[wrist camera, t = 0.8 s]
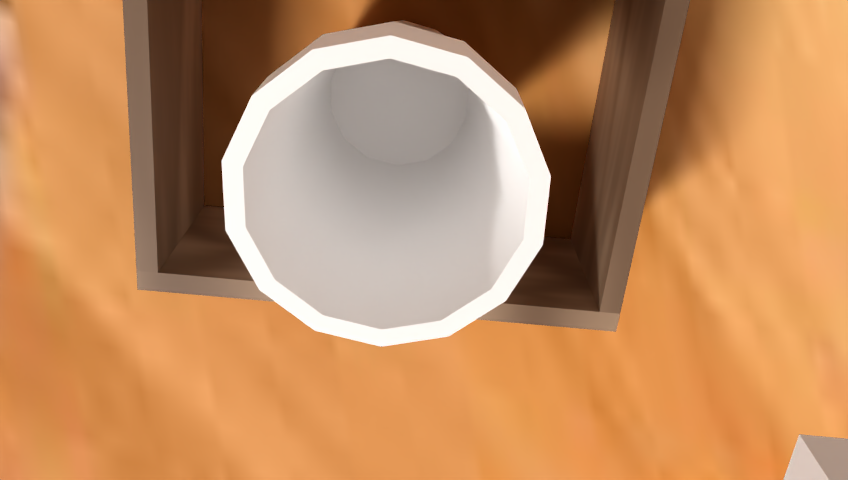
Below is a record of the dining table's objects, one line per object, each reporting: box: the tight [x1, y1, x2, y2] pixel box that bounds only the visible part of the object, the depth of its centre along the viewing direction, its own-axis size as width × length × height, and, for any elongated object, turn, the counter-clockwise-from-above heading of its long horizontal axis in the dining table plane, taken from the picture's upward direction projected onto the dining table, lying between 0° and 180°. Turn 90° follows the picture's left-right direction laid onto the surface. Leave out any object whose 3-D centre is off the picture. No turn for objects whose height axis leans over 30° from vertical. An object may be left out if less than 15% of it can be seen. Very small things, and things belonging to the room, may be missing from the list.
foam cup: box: [222, 20, 551, 347], centre depth 29 cm, size 10×9×13 cm
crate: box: [123, 0, 690, 332], centre depth 32 cm, size 19×14×7 cm
